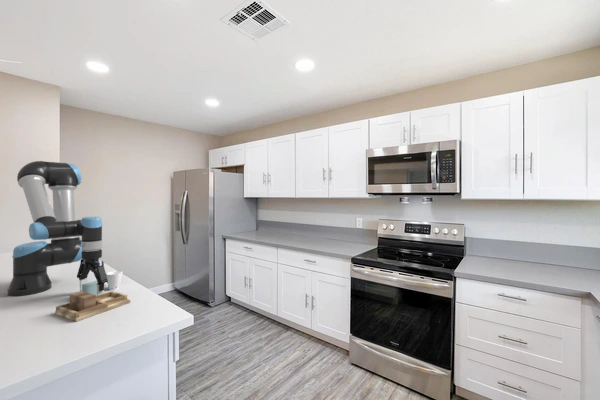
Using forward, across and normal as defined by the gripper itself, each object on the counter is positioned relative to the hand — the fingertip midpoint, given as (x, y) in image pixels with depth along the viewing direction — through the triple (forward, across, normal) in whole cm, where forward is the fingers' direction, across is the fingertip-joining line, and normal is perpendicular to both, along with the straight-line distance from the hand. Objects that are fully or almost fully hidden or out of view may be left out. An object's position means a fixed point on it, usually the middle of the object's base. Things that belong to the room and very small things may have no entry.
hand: (91, 295), depth 125 cm
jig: (0, +16, -7) cm, 18 cm away
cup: (0, -2, +11) cm, 11 cm away
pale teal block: (0, 0, 0) cm, 0 cm away
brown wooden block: (-1, +17, -12) cm, 21 cm away
